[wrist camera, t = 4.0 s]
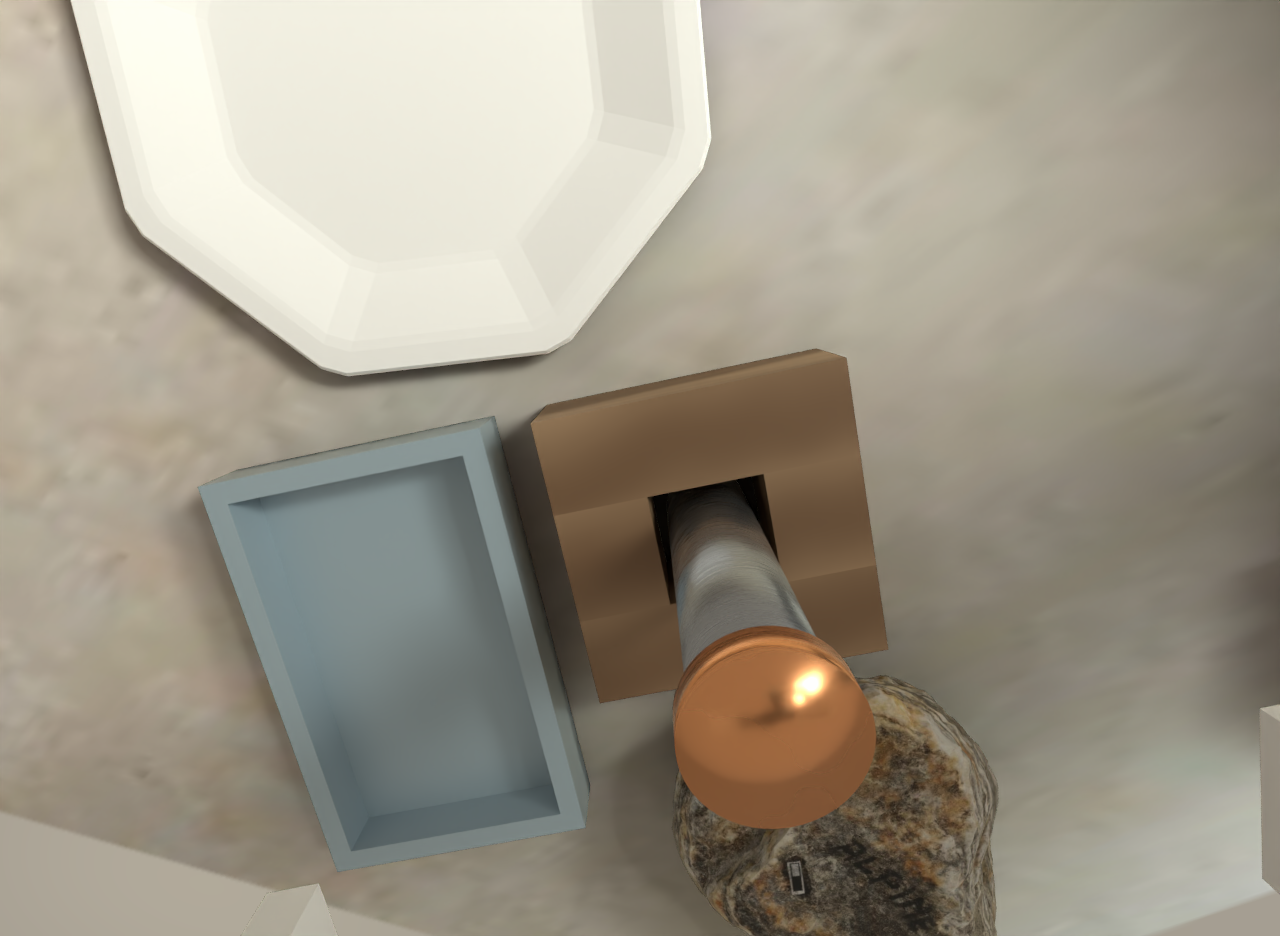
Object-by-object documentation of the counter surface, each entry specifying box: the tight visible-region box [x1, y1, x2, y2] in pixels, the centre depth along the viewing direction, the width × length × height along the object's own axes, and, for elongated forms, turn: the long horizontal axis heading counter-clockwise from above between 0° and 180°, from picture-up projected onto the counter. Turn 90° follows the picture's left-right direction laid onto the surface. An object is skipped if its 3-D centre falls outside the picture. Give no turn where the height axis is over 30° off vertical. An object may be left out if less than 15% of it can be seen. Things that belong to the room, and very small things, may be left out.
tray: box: [198, 416, 590, 872], centre depth 28 cm, size 16×10×2 cm, turn 12°
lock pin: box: [666, 480, 876, 829], centre depth 20 cm, size 4×4×15 cm
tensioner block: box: [531, 349, 888, 703], centre depth 26 cm, size 10×10×4 cm
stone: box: [672, 675, 998, 936], centre depth 28 cm, size 14×10×10 cm
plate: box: [70, 0, 711, 376], centre depth 24 cm, size 20×20×2 cm
